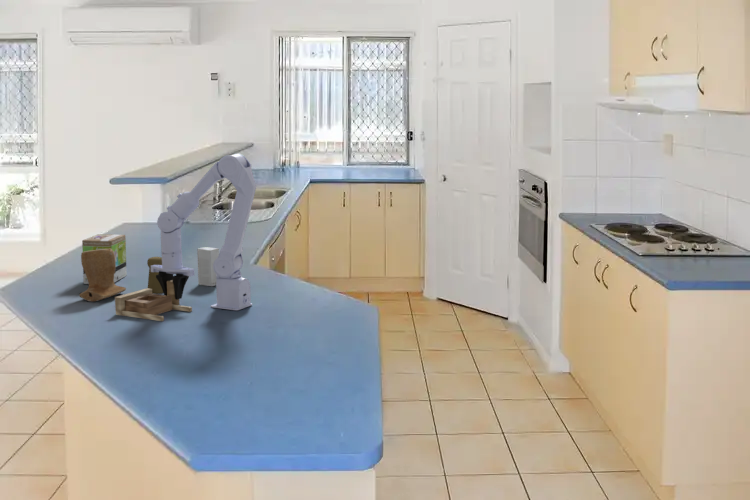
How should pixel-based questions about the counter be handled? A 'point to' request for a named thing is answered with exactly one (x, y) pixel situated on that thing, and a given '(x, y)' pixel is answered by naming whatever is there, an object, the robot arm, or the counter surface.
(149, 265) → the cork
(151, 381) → the counter surface
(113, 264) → the brown wooden stand
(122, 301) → the birch rail and backstop
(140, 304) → the walnut block
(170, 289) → the oak dowel
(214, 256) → the skincare box
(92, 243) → the tea box
